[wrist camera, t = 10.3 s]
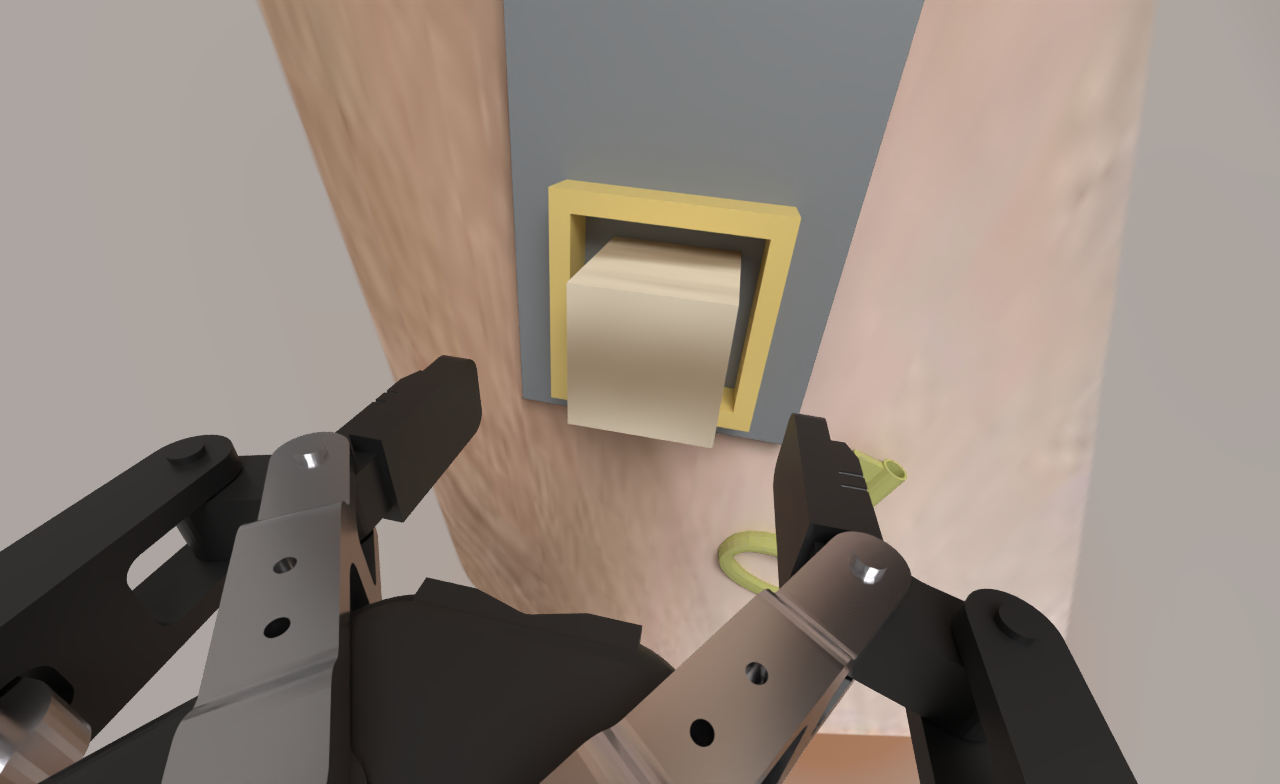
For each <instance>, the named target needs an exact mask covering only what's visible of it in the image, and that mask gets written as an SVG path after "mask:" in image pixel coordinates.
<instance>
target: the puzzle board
mask: <svg viewBox="0 0 1280 784" xmlns="http://www.w3.org/2000/svg"><path fill="white" fill-rule="evenodd" d="M503 1H504V21H505V41H506V62H507V82H508V103H509V123H510V144H511V164H512V185H513V205H514V226H515V246H516V267H517V287H518V308H519V328H520V349H521V369H522V390H523V398H524V399H530V400H536V401H541V402H547V403H552V404H558V405H564V406H568V404H567V282H568V281H569V280H570V279H571V278H572V277H573V276H574V275H575V274H576V273H577V272H578V271H579V270H580V269H581V268H582V267H583V266H585V265H586V264H587V263H588V262H589V261H590V260H591V259H592V258H593V257H594V256H595V255H596V254H597V253H598V252H599V251H600V250H601V249H602V248H603V247H604V246H605V245H606V244H607V243H608V242H609V241H610V240H611V239H612V238H613V237H614V236H615V237H623V238H631V239H640V240H648V241H657V242H665V243H673V244H682V245H690V246H699V247H707V248H715V249H724V250H732V251H740V252H741V272H740V292H739V308H738V313H737V319H736V324H735V329H734V335H733V340H732V346H731V351H730V357H729V362H728V367H727V373H726V378H725V384H724V389H723V395H722V400H721V405H720V411H719V416H718V422H717V427H716V432H715V433H721V434H726V435H732V436H737V437H743V438H749V439H754V440H760V441H765V442H771V443H777V444H782V442H783V438H784V435H785V431H786V428H787V425H788V421H789V418H790V416H791V414H792V413H797V414H799V412H800V409H801V405H802V402H803V399H804V396H805V392H806V389H807V386H808V382H809V379H810V376H811V373H812V369H813V366H814V363H815V359H816V356H817V353H818V349H819V346H820V343H821V340H822V336H823V333H824V330H825V326H826V323H827V320H828V316H829V313H830V310H831V307H832V303H833V300H834V297H835V293H836V290H837V287H838V284H839V280H840V277H841V274H842V270H843V267H844V264H845V260H846V257H847V254H848V251H849V247H850V244H851V241H852V237H853V234H854V231H855V228H856V224H857V221H858V218H859V214H860V211H861V208H862V204H863V201H864V198H865V195H866V191H867V188H868V185H869V181H870V178H871V175H872V172H873V168H874V165H875V162H876V158H877V155H878V152H879V148H880V145H881V142H882V139H883V135H884V132H885V129H886V125H887V122H888V119H889V116H890V112H891V109H892V106H893V102H894V99H895V96H896V92H897V89H898V86H899V83H900V79H901V76H902V73H903V69H904V66H905V63H906V60H907V56H908V53H909V50H910V46H911V43H912V40H913V36H914V33H915V30H916V27H917V23H918V20H919V17H920V13H921V10H922V7H923V3H924V0H503Z"/></svg>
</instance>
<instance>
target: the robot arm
mask: <svg viewBox="0 0 1280 784" xmlns="http://www.w3.org/2000/svg"><path fill="white" fill-rule="evenodd" d="M481 416H482V408H481V400H480V392H479V383H478V375H477V368H476V364H475V362H474V361H473V360H471V359H465V358H459V357H452V356H446V355H442V356H440V357H439V358H438V359H436V360H435V361H434V362H433V363H432V364H431V365H429V366H428V367H427V368H426V369H425V370H423V371H421V370H420V371H418V372H416V373H413V374H411V375H409V376H407V377H404V378H402V379H400V380H399V381H398V382H397V383H395V384H394V385H393V386H392V387H391V388H389V389H388V390H387V393H383V394H382V395H381V396H380V397H378V398H377V399H376V402H372V403H371V404H370V405H369V406H367V407H366V408H365V409H364V410H363V411H361V412H360V413H359V414H357V415H356V416H355V417H354V418H353V419H351V420H350V421H349V422H348V423H346V425H344V426H343V427H342V428H340V429H339V430H338V431H337V432H335V433H333V432H317V433H311V434H306V435H303V436H300V437H297V438H295V439H292V440H290V441H288V442H286V443H285V444H284V445H282V446H280V447H279V448H278V449H277V450H276V451H275V452H274V453H273V454H272V455H254V456H253V455H252V456H238V455H237V453H236V450H235V448H234V446H233V444H232V442H231V441H230V440H229V439H228V438H226V437H224V436H219V435H202V436H195V437H190V438H186V439H182V440H179V441H176V442H174V443H171V444H169V445H167V446H165V447H163V448H161V449H159V450H157V451H156V452H154V453H153V454H151V455H150V456H148V457H146V458H145V459H143V460H142V461H140V462H139V463H137V464H136V465H134V466H132V467H131V468H129V469H128V470H126V471H125V472H123V473H122V474H120V475H118V476H117V477H115V478H114V479H112V480H111V481H109V482H108V483H106V484H105V485H103V486H101V487H100V488H98V489H97V490H95V491H94V492H92V493H91V494H89V495H87V496H86V497H84V498H83V499H81V500H80V501H78V502H77V503H75V504H74V505H72V506H70V507H69V508H67V509H66V510H64V511H63V512H61V513H60V514H58V515H57V516H55V517H53V518H52V519H50V520H49V521H47V522H46V523H44V524H43V525H41V526H39V527H38V528H36V529H35V530H33V531H32V532H30V533H29V534H27V535H25V536H24V537H22V538H21V539H19V540H18V541H16V542H15V543H13V544H12V545H10V546H9V547H7V548H5V549H4V550H2V551H1V552H0V784H782V783H783V781H784V780H785V779H786V777H787V775H788V774H789V773H790V771H791V769H792V768H793V767H794V765H795V763H796V762H797V760H798V759H799V757H800V756H801V754H802V753H803V751H804V749H805V748H806V747H807V745H808V744H809V743H810V741H811V740H812V738H813V737H814V736H815V734H816V733H817V732H818V730H819V729H820V727H821V726H822V725H823V723H824V722H825V721H826V719H827V718H828V716H829V715H830V714H831V712H832V711H833V710H834V708H835V707H836V705H837V704H838V703H839V701H840V700H841V699H842V697H843V696H844V694H845V693H846V692H847V690H848V689H849V688H850V686H851V685H852V683H853V682H854V681H855V680H856V681H858V682H860V683H862V684H863V685H865V686H867V687H869V688H871V689H873V690H874V691H876V692H878V693H880V694H882V695H884V696H885V697H887V698H889V699H891V700H893V701H895V702H896V703H898V704H900V705H902V706H904V707H905V708H906V713H907V718H908V723H909V728H910V733H911V739H912V744H913V749H914V754H915V759H916V764H917V769H918V774H919V779H920V784H1138V783H1137V781H1136V779H1135V778H1134V775H1133V773H1132V771H1131V770H1130V768H1129V766H1128V764H1127V762H1126V760H1125V758H1124V756H1123V754H1122V752H1121V750H1120V748H1119V746H1118V744H1117V742H1116V740H1115V738H1114V736H1113V735H1112V732H1111V731H1110V729H1109V727H1108V725H1107V723H1106V721H1105V719H1104V717H1103V715H1102V713H1101V711H1100V709H1099V707H1098V705H1097V703H1096V701H1095V700H1094V697H1093V695H1092V694H1091V692H1090V690H1089V688H1088V686H1087V684H1086V682H1085V680H1084V678H1083V676H1082V674H1081V672H1080V670H1079V668H1078V666H1077V664H1076V662H1075V660H1074V658H1073V656H1072V655H1071V653H1070V651H1069V649H1068V647H1067V645H1066V643H1065V641H1064V639H1063V637H1062V636H1061V634H1060V632H1059V631H1058V630H1057V629H1056V627H1055V626H1054V625H1053V624H1052V623H1051V622H1050V621H1049V619H1048V618H1047V617H1045V616H1044V615H1043V614H1042V613H1041V612H1040V611H1038V610H1037V609H1036V608H1034V607H1033V606H1032V605H1030V604H1028V603H1027V602H1025V601H1024V600H1022V599H1020V598H1018V597H1016V596H1013V595H1011V594H1009V593H1006V592H1003V591H999V590H994V589H979V590H976V591H973V592H972V593H971V594H969V596H968V597H967V599H966V600H965V601H963V600H960V599H958V598H956V597H954V596H951V595H949V594H947V593H945V592H942V591H940V590H938V589H936V588H933V587H931V586H929V585H927V584H925V583H923V582H921V581H919V580H918V579H916V578H914V577H913V576H911V572H910V569H909V567H908V565H907V563H906V561H905V560H904V558H903V557H902V556H901V555H900V554H899V553H898V552H897V551H896V550H895V549H894V548H893V547H892V546H890V545H889V544H887V543H886V542H884V541H883V538H882V535H881V531H880V528H879V525H878V521H877V518H876V515H875V511H874V508H873V505H872V501H871V498H870V495H869V492H867V489H868V488H867V485H866V481H865V478H863V471H862V468H861V465H860V461H859V458H858V457H857V456H856V455H855V454H854V452H853V451H852V450H851V449H850V448H849V447H848V446H847V444H846V443H844V442H838V441H832V440H831V439H830V435H829V431H828V427H827V422H826V419H825V418H821V417H815V416H809V415H803V414H797V413H792V414H791V416H790V418H789V421H788V425H787V428H786V431H785V435H784V438H783V442H782V445H781V449H780V452H779V456H778V459H777V463H776V467H775V473H774V481H773V492H774V509H775V526H776V542H777V559H778V576H779V590H778V591H777V592H775V593H774V592H772V591H771V590H770V589H764V590H763V591H761V592H760V593H758V594H757V595H756V596H755V597H754V598H753V599H752V600H751V601H749V602H748V603H747V604H746V605H745V606H744V607H743V608H742V609H741V610H740V611H739V612H738V613H737V614H735V615H734V616H733V617H732V618H731V619H730V620H729V621H728V622H727V623H726V624H725V625H724V626H723V627H721V628H720V629H719V630H718V631H717V632H716V633H715V634H714V635H713V636H712V637H711V638H710V639H709V640H707V641H706V642H705V643H704V644H703V645H702V646H701V647H700V648H699V649H698V650H697V651H696V652H694V653H693V654H692V655H691V656H690V657H689V658H688V659H687V660H686V661H685V662H684V663H683V664H682V665H680V666H679V667H678V668H677V669H676V670H675V669H674V668H673V667H672V666H671V665H670V664H669V663H668V662H666V661H665V660H664V659H663V658H662V657H660V656H659V655H657V654H656V653H655V652H653V651H652V650H650V649H648V648H646V647H645V646H643V645H641V644H640V640H641V632H642V626H641V625H637V624H632V623H628V622H623V621H619V620H615V619H610V618H606V617H601V616H597V615H592V614H588V613H579V614H534V615H531V614H524V613H522V612H519V611H518V610H516V609H514V608H512V607H510V606H508V605H506V604H505V603H503V602H501V601H499V600H497V599H495V598H493V597H492V596H490V595H488V594H486V593H484V592H482V591H480V590H479V589H476V588H472V587H467V586H463V585H458V584H454V583H449V582H445V581H440V580H436V579H431V578H426V579H425V580H424V582H423V584H422V585H421V586H420V588H419V589H418V591H417V592H416V594H414V595H404V596H397V597H393V598H389V599H385V600H382V596H381V582H380V565H379V549H378V535H377V531H376V528H375V526H376V525H377V524H378V523H379V521H380V520H381V519H382V518H384V519H388V520H393V521H398V522H404V521H405V520H406V519H407V517H408V516H409V515H410V514H411V512H412V511H413V510H414V509H415V507H416V506H417V505H418V504H419V503H420V501H421V500H422V499H423V498H424V496H425V495H426V494H427V493H428V491H429V490H430V489H431V488H432V486H433V485H434V484H435V483H436V481H437V480H438V479H439V478H440V477H441V475H442V474H443V473H444V472H445V470H446V469H447V468H448V467H449V465H450V464H451V463H452V462H453V460H454V459H455V458H456V457H457V456H458V454H459V453H460V452H461V451H462V449H463V448H464V447H465V446H466V444H467V443H468V442H469V441H470V439H471V438H472V437H473V436H474V434H475V433H476V432H477V430H478V428H479V425H480V422H481ZM175 526H177V528H178V529H179V531H180V533H181V534H182V536H183V538H184V539H185V540H186V542H187V544H186V545H185V546H184V547H183V548H181V549H180V550H179V551H178V552H177V553H176V554H174V555H173V556H172V557H171V558H170V559H169V560H167V561H166V562H165V563H164V564H163V565H162V566H160V567H159V568H158V569H157V570H156V571H155V572H153V573H152V574H151V575H150V576H149V577H148V578H146V579H145V580H144V581H143V582H142V583H141V584H139V585H138V586H137V587H136V588H135V589H134V590H131V589H130V588H129V586H128V584H127V573H128V570H129V568H130V566H131V564H132V563H133V561H134V560H135V559H136V558H137V557H138V556H139V555H140V554H141V553H143V552H144V551H145V550H146V549H148V548H149V547H150V546H151V545H153V544H154V543H155V542H156V541H158V540H159V539H160V538H161V537H163V536H164V535H165V534H166V533H167V532H168V531H170V530H171V529H172V528H174V527H175ZM218 608H219V610H218V614H217V619H216V623H215V627H214V631H213V636H212V640H211V644H210V648H209V653H208V657H207V661H206V665H205V669H204V674H203V678H202V682H201V686H200V690H199V695H198V696H196V697H195V698H193V699H191V700H189V701H187V702H185V703H184V704H182V705H180V706H178V707H176V708H174V709H172V710H171V711H169V712H167V713H165V714H163V715H161V716H160V717H158V718H156V719H154V720H152V721H151V722H149V723H147V724H145V725H143V726H141V727H139V728H138V729H136V730H134V731H132V732H130V733H129V734H127V735H125V736H123V737H121V738H119V739H118V740H116V741H114V742H112V743H110V744H108V745H106V746H105V747H103V748H101V749H100V750H97V751H95V752H94V753H92V754H90V755H88V756H86V757H85V758H83V756H84V755H85V753H86V751H87V749H88V746H89V743H90V741H92V739H93V738H94V737H95V736H96V735H97V734H98V733H99V732H100V731H101V730H102V729H103V728H104V727H105V726H106V725H107V724H108V723H109V722H110V721H111V719H112V718H114V717H115V715H116V714H117V713H118V712H119V711H120V710H121V709H122V708H123V707H124V706H125V705H126V704H127V703H128V702H129V701H130V700H131V699H132V698H133V697H134V696H135V695H136V694H137V692H138V691H139V690H140V689H141V688H142V687H143V686H144V685H145V684H146V683H147V682H148V681H149V680H150V679H151V678H152V677H153V676H154V675H155V674H156V673H157V672H158V670H160V668H161V667H162V666H163V665H164V664H165V663H166V662H167V661H168V660H169V659H170V658H171V657H172V656H173V655H174V654H175V653H176V652H177V651H178V650H179V649H180V648H181V646H183V645H184V644H185V642H186V641H187V640H188V639H189V638H190V637H191V636H192V635H193V634H194V633H195V632H196V631H197V630H198V629H199V628H200V627H201V626H202V625H203V624H204V623H205V622H206V621H207V620H208V618H209V617H210V616H211V615H212V614H213V613H214V612H215V611H216V610H217V609H218ZM82 758H83V759H82Z"/></svg>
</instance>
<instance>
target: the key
mask: <svg viewBox="0 0 1280 784" xmlns="http://www.w3.org/2000/svg"><path fill="white" fill-rule="evenodd" d="M853 452H854V454H855V455H856V456H857V457H858V458H859V461H860V465H861V468H862V471H863V478H865V481H866V485H867V488H868V489H867V492H869V495H870V498H871V501H872V505H873V507H874V506H875V505H876V504H878V503H879V502H880V501H881V500H882V499H884V498H885V497H886V496H887V495H888V494H890V493H891V492H892V491H893V490H894V489H895V488H897V487H898V486H899V485H900V484H901V483H903V482H904V481H905V480H906V479H907V474H906V472H905V470H904V469H903V468H902V467H901V466H900V465H899V464H898V463H896V462H895V461H893V460H890V459H885V460H884V461H883V462H880V461H878V460H876V459H874V458H872V457H870V456H868V455H866V454H863V453H861V452H859V451H857V450H855V449H854V450H853ZM742 552H757V553H764V554H768V555H772V556H776V557H777V542H776V534H773V533H769V532H761V531H745V532H740V533H736V534H734V535H732V536H730V537H728V538H727V539H726V540H725V541H724V542H723V543H722V545H721V546H720V548H719V553H718V556H719V563H720V567H721V569H722V570H723V571H724V573H725V574H726V575H727V576H728V577H729V578H731V579H732V580H733V581H734V582H736V583H737V584H739V585H741V586H742V587H744V588H746V589H748V590H750V591H752V592H754V593H756V594H758V593H760V592H761V591H763V590H764V589H770V590H771V591H772V592H774V593H775V592H777V591H778V590H779V587H776V586H773V585H771V584H768V583H766V582H764V581H762V580H760V579H758V578H756V577H755V576H753V575H751V574H750V573H749V572H747V571H746V570H745V569H743V568H742V567H741V566H740V565H739V564H738V563H737V562H736V560H735V559H734V558H733V556H734V555H736V554H738V553H742Z"/></svg>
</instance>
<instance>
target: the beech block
mask: <svg viewBox="0 0 1280 784" xmlns="http://www.w3.org/2000/svg"><path fill="white" fill-rule="evenodd" d="M740 272H741V252H740V251H732V250H724V249H715V248H707V247H699V246H690V245H682V244H673V243H665V242H657V241H648V240H640V239H631V238H623V237H615V236H614V237H613V238H612V239H611V240H610V241H609V242H608V243H607V244H606V245H605V246H604V247H603V248H602V249H601V250H600V251H599V252H598V253H597V254H596V255H595V256H594V257H593V258H592V259H591V260H590V261H589V262H588V263H587V264H586V265H585V266H583V267H582V268H581V269H580V270H579V271H578V272H577V273H576V274H575V275H574V276H573V277H572V278H571V279H570V280H569V281H568V282H567V404H568V424H573V425H579V426H585V427H590V428H596V429H602V430H608V431H614V432H620V433H625V434H631V435H637V436H643V437H649V438H655V439H660V440H666V441H672V442H678V443H684V444H690V445H695V446H701V447H707V448H713V443H714V438H715V432H716V427H717V422H718V416H719V411H720V405H721V400H722V395H723V389H724V384H725V378H726V373H727V367H728V362H729V357H730V351H731V346H732V340H733V335H734V329H735V324H736V319H737V313H738V308H739V292H740Z"/></svg>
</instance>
